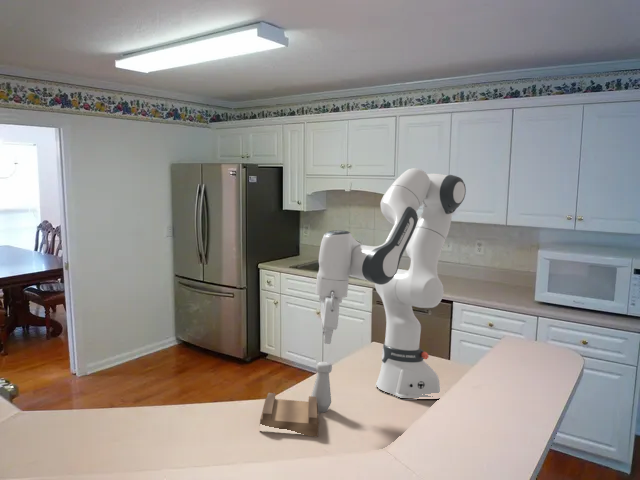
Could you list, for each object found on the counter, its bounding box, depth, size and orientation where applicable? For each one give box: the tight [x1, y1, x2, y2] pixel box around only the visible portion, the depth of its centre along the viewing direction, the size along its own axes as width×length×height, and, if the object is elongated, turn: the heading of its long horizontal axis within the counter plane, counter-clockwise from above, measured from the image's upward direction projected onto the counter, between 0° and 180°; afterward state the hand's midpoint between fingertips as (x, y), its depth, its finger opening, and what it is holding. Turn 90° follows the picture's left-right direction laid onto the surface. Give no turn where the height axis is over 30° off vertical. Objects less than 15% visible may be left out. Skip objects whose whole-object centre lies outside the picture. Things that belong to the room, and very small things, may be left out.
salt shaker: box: [311, 361, 333, 414], centre depth 128 cm, size 6×6×13 cm
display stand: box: [259, 392, 320, 438], centre depth 118 cm, size 14×14×4 cm
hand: (326, 339), depth 128 cm, fingers open, 8 cm apart
